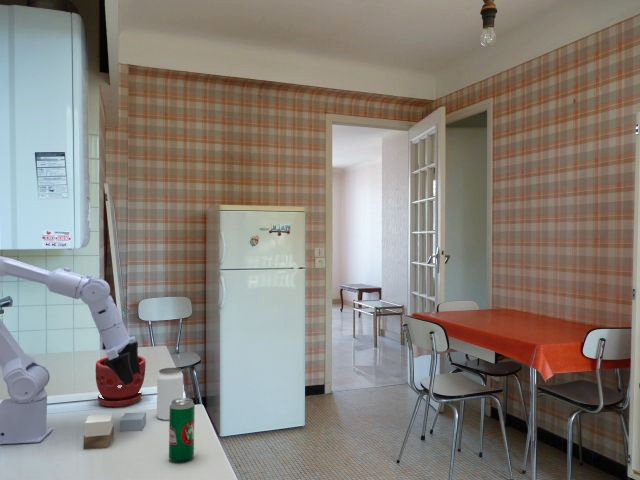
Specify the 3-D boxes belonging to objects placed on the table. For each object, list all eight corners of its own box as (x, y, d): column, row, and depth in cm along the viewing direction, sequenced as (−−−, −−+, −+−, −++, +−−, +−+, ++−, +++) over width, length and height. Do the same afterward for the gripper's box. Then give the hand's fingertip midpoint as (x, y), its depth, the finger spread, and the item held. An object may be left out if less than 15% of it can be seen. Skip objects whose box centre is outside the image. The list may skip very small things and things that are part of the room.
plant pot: (84, 406, 135) (84, 362, 135) (120, 392, 147) (121, 352, 147) (120, 412, 130) (121, 367, 130) (154, 398, 142) (155, 357, 142)
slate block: (119, 432, 117) (120, 420, 117) (124, 425, 122) (125, 413, 122) (141, 431, 117) (142, 419, 118) (145, 424, 122) (146, 412, 122)
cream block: (84, 436, 106) (85, 423, 106) (88, 428, 111) (89, 415, 111) (109, 434, 108) (110, 421, 108) (112, 426, 113) (112, 413, 113)
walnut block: (83, 450, 107) (83, 436, 107) (90, 441, 112) (90, 427, 112) (107, 449, 107) (107, 435, 107) (113, 440, 112) (113, 426, 112)
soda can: (167, 455, 104) (168, 398, 104) (191, 451, 106) (192, 396, 106) (170, 465, 99) (171, 406, 99) (195, 461, 101) (196, 403, 101)
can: (175, 421, 124) (175, 374, 124) (151, 419, 125) (152, 372, 125) (187, 413, 130) (187, 367, 130) (164, 411, 131) (165, 366, 131)
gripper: (119, 326, 111) (143, 380, 112) (133, 314, 125) (154, 362, 126) (89, 338, 110) (113, 393, 111) (106, 325, 124) (127, 373, 125)
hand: (132, 377), depth 119 cm, fingers open, 7 cm apart
